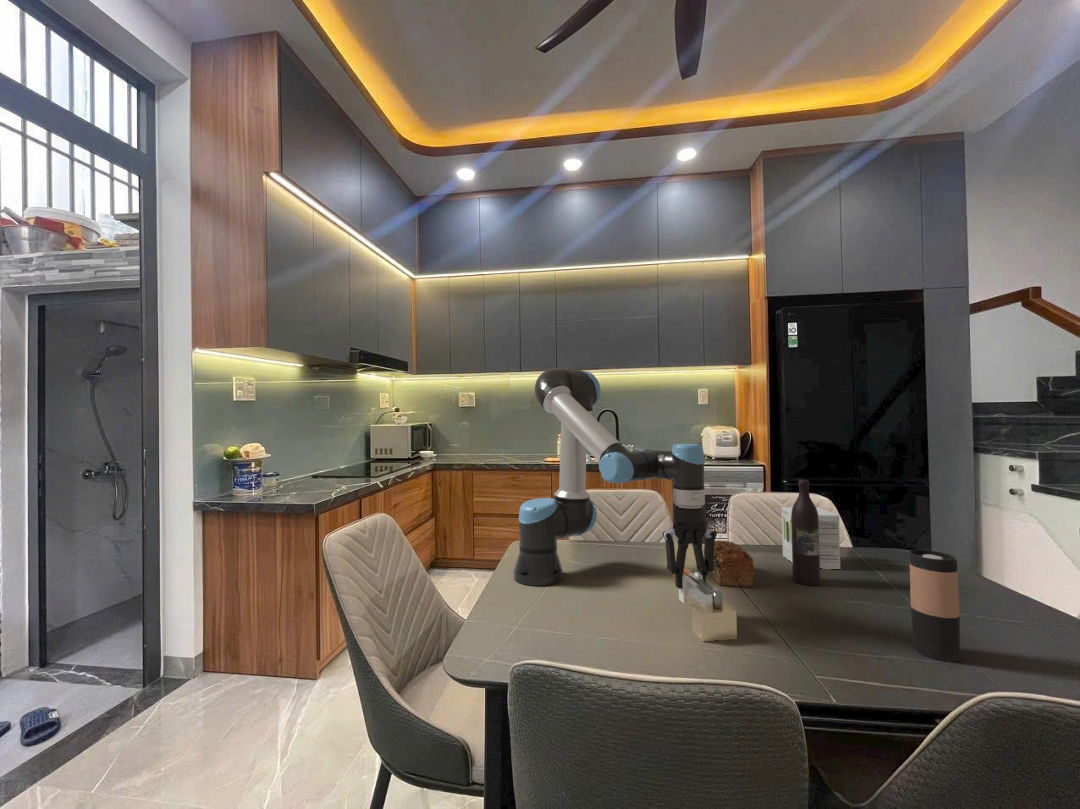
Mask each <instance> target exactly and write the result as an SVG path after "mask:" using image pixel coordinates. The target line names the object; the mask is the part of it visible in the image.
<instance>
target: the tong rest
mask: <svg viewBox="0 0 1080 809" xmlns="http://www.w3.org/2000/svg"><path fill="white" fill-rule="evenodd" d="M683 574H684V575H685V576H686V592H687V595H689V596H690V597H692V599H694V600H695V601H697V602H698V603H693V604H691V606H690V607H691V632H692V631H693V632H694V633H695V634H694V633H693V632H692V633H693V634H694V635H695V636H696V635H697V636H696V637H697V638H698V639H699V640H700V639H701V640H702V641H705V642H713V641H714V642H716V641H715V640H718V641H728V640H729V639H731V640H737V639H738V631H737V630H738V625H737V622H738V621H737V620H738V619H737V610H735V609H734V608H733V607H731V606H730V605H729V604H728V603H725V602H723V601H722V608H720V609H719V608H714V607H713V599H712V594H711V593H710V592H709V591H707V590H706V589H704V588H703V587H702V586H700V585H699V584H698V583H696V582H695V581H694V580H692V579H691V578H690V577H688V576H687V575H686V574H685V573H683ZM672 577H673V578H672V579H673V581H672V582H673V584H675V574H673V573H672ZM701 640H700V641H701ZM702 641H701V642H702Z"/></svg>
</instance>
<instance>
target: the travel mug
mask: <svg viewBox="0 0 1080 809" xmlns="http://www.w3.org/2000/svg"><path fill="white" fill-rule="evenodd" d="M908 555H909V586H910V587H909V589H910V590H909V591H910V597H909V598H910V614H911V629H912V630H911V631H912V642H913V648H914V651H915V652H917V653H918V654H919V655H921V656H924V657H926V658H929V659H932V660H936V661H940V662H947V663H949V662H950V663H954V662H955V663H956V662H959V660H960V654H961V653H960V650H961V649H960V648H961V645H960V641H961V638H960V637H961V633H960V631H961V629H960V628H961V627H960V626H961V624H960V623H961V620H960V619H961V618H960V616H961V611H960V599H959V598H960V595H959V594H960V593H959V576H958V575H959V574H958V573H959V572H958V561H957V559H956V558H957V557H955V555H953V554H949V553H945V552H940V551H935V550H929V549H911V550H910V551H909V554H908Z"/></svg>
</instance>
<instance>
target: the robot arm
mask: <svg viewBox="0 0 1080 809" xmlns="http://www.w3.org/2000/svg"><path fill="white" fill-rule="evenodd" d="M601 391H602V389H601V385H600V382H599V379H598V378H597V377H596V376H595V374H593V373H592V372H589V371H586V370H581V369H567V368H565V369H564V368H557V367H556V368H555V367H554V368H553V367H552V368H548V369H547V370H544V371H543V372H542V373H541V374H540V375H539V376H538V378H537V379H536V380H535V384H534V394H535V398H536V401H537V402H538V403H539V405H540V406H541V407H542V409H543V410H544V411H545V412H546V413H547V414H553V415H554V416H555V418H557V419H558V421H559V422H560V446H559V447H560V448H559V449H560V450H559V451H560V453H559V455H560V456H559V477H558V478H559V483H558V489H557V490H556V491H555V492H554V498H551V497H541V498H533V499H530V500H527V501H524V502H523V503H522V504H521V505H520V507H519V514H518V515H519V516H518V521H519V522H518V524H519V525H518V526H519V529H518V530H519V534H518V536H519V537H518V538H519V539H518V540H519V541H518V543H519V544H518V546H519V548H518V549H519V550H518V552H519V553H518V556H517V559H516V561H515V562H516V563H515V566H514V569H513V580H514V581H515V582H517V583H520V584H522V585H525V586H538V587H540V586H549V585H550V586H551V585H554V584H557V583H559V582H561V581H562V580H563V578H564V569H563V566H562V564H561V559H560V558H559V554H558V540H561V539H565V538H570V537H578V536H582V535H583V534H586V533H589V532H590V531H591V530H592V529H593V528H594V527H595V524H596V521H597V518H598V516H597V507H596V506H595V503H594V502H593V500H592V499H590V496H591V495H590V493H588V491H587V490H586V482H587V481H586V478H587V476H586V475H587V451H588V452H589V453H590V454H591V455H592V457H593V458H594V459H595V460H597V462H599V464H598V469H599V472H600V474H601V475H600V476H601V477H602V479H603V480H604V481H605V482H607V483H610V484H627V483H629V482H630V483H631V482H636V481H645V480H646V481H647V480H654V479H657V480H660V479H661V480H662V479H663V480H670V481H672V487H673V488H672V489H673V490H672V494H673V496H672V497H673V499H672V501H673V502H672V503H673V504H674V506H673V525H672V528H671V530H668V531H663V532H662V536H663V538H664V541H665V550H666V551H665V552H666V564H667V565H666V568H667V571H669V573H671V574H672V575H673V574H675V583H674V584H675V587H676V588H677V589H678V600H680V602H682V603H683V604H687V603H688V602H687V600H688V598H687V595H688V593H687V592H686V576H685V575H684V574H683V572H684V568H685V563H686V558H687V551H688V548H689V545H691V546H692V549H693V554H694V560H695V563H696V570H697V571H694V574H695V575H696V576H698V577H699V578H701V579H702V580H704V581H705V582H706V580H707V578H706V576H708V575H709V572H712V571H713V564H714V541H716V537H717V531H715V530H712V529H708V528H707V526H706V508H705V506H704V505H705V504H706V499H705V498H706V496H705V495H706V493H705V490H706V489H705V464H706V462H705V455H704V454H705V453H704V447H703V446H702V445H701V444H699V443H674V444H672V449H671V450H660V449H653V448H648V449H646V448H645V449H639V450H637V451H635V450H634V451H633V450H632V451H630V450H628V449H627V448H626V447H625V446H624V445H623V444H622V443H621V442H620V441H619V440H618V439H617V438H616V437H615V436H613V434H612V433H611V432H609V431H608V430H607V428H605V427H604V426H603V424H601V423H600V422H599V421H598V420H597V419H596V418H595V417H594V416H593V415H592V413H593V409H594V408H593V407H594V406H595V405H596V404H597V403H598V401H599V400H600V398H601V394H602V392H601ZM675 536H676V538H677V551H675V541H674V540H675ZM703 537H704V546H705V551H704V550H703V541H702V539H703ZM706 583H707V582H706Z"/></svg>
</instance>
